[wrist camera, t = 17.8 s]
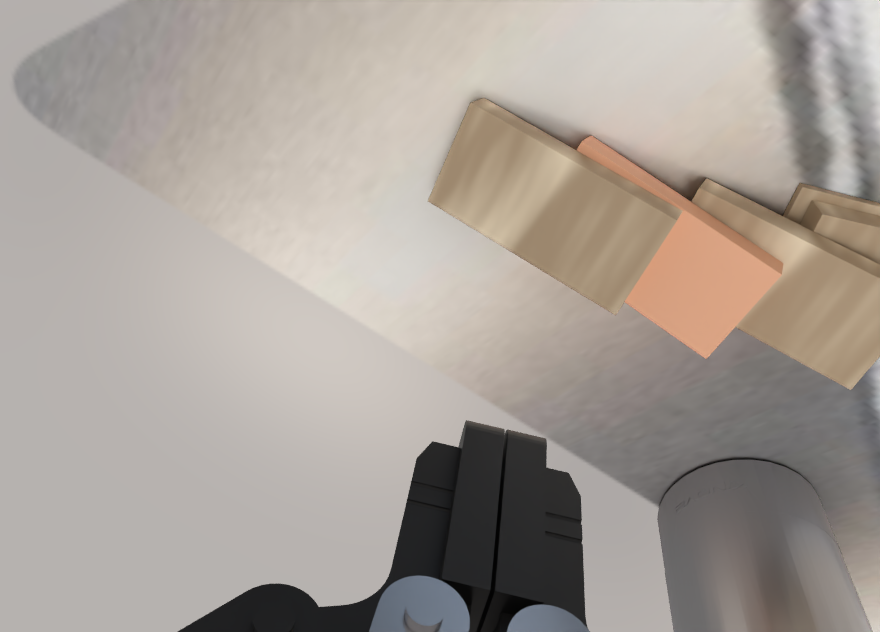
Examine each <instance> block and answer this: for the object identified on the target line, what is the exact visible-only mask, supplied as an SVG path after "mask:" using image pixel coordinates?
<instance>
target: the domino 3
mask: <svg viewBox="0 0 880 632" xmlns="http://www.w3.org/2000/svg"><path fill="white" fill-rule="evenodd" d="M691 202H692V203H694V204H695V205H697V206H698V207H700V208H701V209H703V210H704V211H706V212H707V213H709V214H710V215H712V216H713V217H715V218H716V219H718V220H719V221H721V222H722V223H724V224H725V225H727V226H728V227H730V228H731V229H733V230H734V231H736V232H737V233H739V234H740V235H742V236H743V237H745V238H746V239H748V240H749V241H751V242H752V243H754V244H755V245H757V246H758V247H760V248H761V249H763V250H764V251H766V252H767V253H769V254H770V255H772V256H773V257H775V258H776V259H778V260H779V261H781V262H782V263H783V270H782V275H781V277H780V278H779V279H778V280H777V281H776V282H775V283H774V284H773V285H772V287H771V288H770V289H769V290H768V291H767V292H766V293H765V294H764V295H763V297H762V298H761V299H760V300H759V301H758V302H757V303H756V304H755V305H754V307H753V308H752V309H751V310H750V311H749V312H748V313H747V314H746V316H745V317H744V318H743V319H742V320H741V321H740V322H739V323H738V324H737V326H736V328H738V329H740V330H742V331H744V332H745V333H747V334H749V335H751V336H753V337H755V338H756V339H758V340H760V341H762V342H764V343H766V344H767V345H769V346H771V347H773V348H775V349H777V350H778V351H780V352H782V353H784V354H786V355H788V356H789V357H791V358H793V359H795V360H797V361H798V362H800V363H802V364H804V365H806V366H808V367H809V368H811V369H813V370H815V371H817V372H819V373H820V374H822V375H824V376H826V377H828V378H830V379H831V380H833V381H835V382H837V383H839V384H841V385H842V386H844V387H846V388H848V389H850V390H851V389H852V388H853V387H854V386H855V385H856V383H857V382H858V381H859V380H860V379H861V378H862V376H863V375H864V374H865V373H866V372H867V371H868V369H869V368H870V367H871V366H872V365H873V364H874V362H875V361H876V360H877V359H878V358H879V357H880V265H879V264H877V263H875V262H873V261H871V260H869V259H867V258H865V257H863V256H861V255H859V254H857V253H855V252H853V251H851V250H849V249H847V248H845V247H843V246H841V245H839V244H837V243H835V242H833V241H831V240H829V239H827V238H825V237H823V236H821V235H819V234H817V233H815V232H813V231H811V230H809V229H807V228H805V227H803V226H801V225H799V224H797V223H795V222H793V221H791V220H789V219H787V218H785V217H783V216H781V215H779V214H777V213H775V212H773V211H771V210H769V209H767V208H765V207H763V206H761V205H759V204H757V203H755V202H753V201H751V200H749V199H747V198H745V197H743V196H741V195H739V194H737V193H735V192H733V191H731V190H729V189H727V188H725V187H723V186H721V185H719V184H717V183H715V182H713V181H711V180H709V179H707V178H706V180H705V181H704V182H703V183H702V185H701V186H700V187H699V189H698V191H697V192H696V194H695V196H694V198H693V199H692V201H691Z"/></svg>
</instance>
